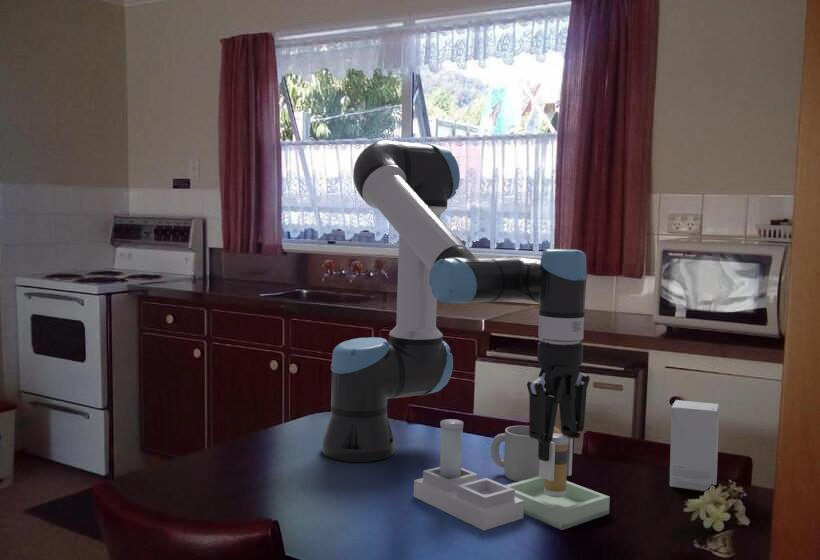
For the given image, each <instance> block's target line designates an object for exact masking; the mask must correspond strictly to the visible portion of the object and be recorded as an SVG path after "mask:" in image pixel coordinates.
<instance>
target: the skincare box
mask: <svg viewBox="0 0 820 560" xmlns="http://www.w3.org/2000/svg"><path fill="white" fill-rule="evenodd" d="M719 407H720V404H719V403H715V402H714V403H711V402H700V401H690V400H689V401H688V400H680V399H675V401H674V402H673V404H672V406H671V413H670V414H671V416H670V417H671V418H670V419H671V420H670V451H669V453H670V454H669V455H670V456H669V457H670V458H669V462H670V463H669V487H672V488H679V489H684V490H685V489H686V490H692V491H700V492H706V491H705V490H706V489H708V488H709V486H710V485H711V484H713V485H716V486H717V481H718V454H719V451H718V450H719V420H720V419H719V418H720V415H719V414H720V408H719Z"/></svg>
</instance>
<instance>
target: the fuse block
mask: <svg viewBox="0 0 820 560" xmlns="http://www.w3.org/2000/svg"><path fill="white" fill-rule="evenodd" d="M439 423H440V424H439V425H440V441H439V442H440V448H439V452H440V453H439V466H437V467H434V468H429V469H425V470H423V471H422V478H417V479H414V480H413V497H414V498H415V499H418V500H420V501H422V502H424V503H426V504H428V505H430V506H432V507H434V508H437V509H438V510H441V511H443V512H445V513H447V514H449V515H451V516H453V517H455V518H457V519H458V520H461V521H462V522H465V523H467V524H469V525H471V526H473V527H475V528H477V529H479V530H482V531H484V532H485V531H487V530H491V529H493V528H497V527H500V526H503V525H506V524H510V523H513V522H515V521H518V520H522V519H524V514H523V513H524V500H521V499H519V498H517V497H515V489H513V488H510V487H508V486H505V485H506V484H502V483H500V482H497V481H495V480H493V479H490V478H487V477H484V478H481V479H478V478H479V476H478V475H479V474H478V473H476V472H473V471H471V470H468V469H466V468H463V467H462V460H463V459H462V456H463V432H464V431H463V429H464V421H462V420H461V419H460V420H459V419H456V418H455V419H453V418H452V419H451V418H449V419H448V418H447V419H441V420H440V422H439Z"/></svg>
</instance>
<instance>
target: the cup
mask: <svg viewBox="0 0 820 560" xmlns="http://www.w3.org/2000/svg"><path fill="white" fill-rule="evenodd" d="M504 430H505V431H504V432H503V433H498V434H497V435H495V436H494V437H493V439H492V441H491V444H490V455H491V458H492V461H493V463H495V465H496V466H498V467H500V468H503V474H504V477H506V478H507V479H508V480H510V481H515V482H519V481H523V480H526V479H530V478H534V477H537V476H539V463H540V460H539V458H538V446H539V442H538V440H537V439H534V438H531V437H530V435H529V425H513V426H507V427H506V428H505V429H504ZM502 442H504V454H503V455H504V457H503V458H501V456H500V445H501V443H502Z"/></svg>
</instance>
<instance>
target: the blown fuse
mask: <svg viewBox="0 0 820 560" xmlns="http://www.w3.org/2000/svg"><path fill="white" fill-rule="evenodd" d="M568 438H569V437H568V436H567V435H564V434H558V433H553V437H552V442H555V467H554V480H553V481H549V480H547V479H544V494H545V495H547V496H550V497H564V496H566V481H567V477H568V476H567V462H568Z"/></svg>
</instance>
